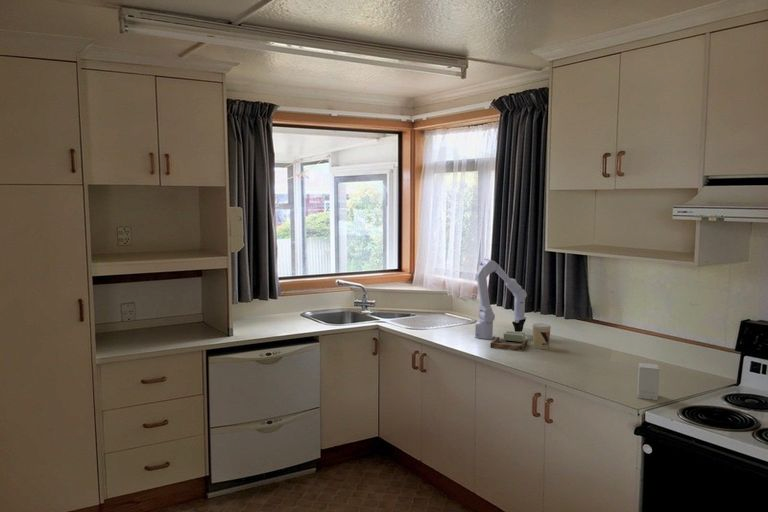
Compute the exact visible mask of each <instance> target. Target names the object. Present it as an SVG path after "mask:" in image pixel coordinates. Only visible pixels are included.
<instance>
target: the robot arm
mask: <svg viewBox="0 0 768 512" xmlns="http://www.w3.org/2000/svg"><path fill="white" fill-rule="evenodd" d="M492 273H496V274H497V276H499V277H500V278H501V279H502V281H504V282H505V287H506V288H507V289H508V290H509V291H510V293H512V296H514V305H513V306H514V308H513V309H514V311H513V314H514V315H513V319H514V321H512V322H511V323H512V325H513V329H514V332H523V329H524V326H525V323H526V320H527V317H526V316H525V309H526V307H525V306H526V305H525V304H526V303H525V301H526V298H527V297H528V293H527V291H526V290H525V289H523V288H522V286H521V285H519V283H518V281H517V280H516V279H515V278H513V277H512V278H510V277H509V275H508V274H507V273H506V272H505V271H504V269H503V268H502V267H501V266H500V264H498V263H497V262H496V261H495V260H491V259H489V258H484V259H482V260H481V261H480V263H479V266H478V269H477V272H476V282H477V289H478V294H479V295H478V296H479V303H480V306H479V309H478V310H479V312H478V317H479V321H478V320H477V321H476V323H475V326H474V327H475V328H474V329H475V333H474V335H475V337H474V338H476V339H484V340H485V339H486V340H492V339H493V338H496V337H495V335H494V333H493V331H494V321H495V318H496V317H495V315H496V314H494V312H493V308H492V306H491V303H490V302H491V301H490V295H489V287H488V280H487V278H488V276H489V275H490V274H492Z"/></svg>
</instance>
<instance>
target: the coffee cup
mask: <svg viewBox="0 0 768 512" xmlns="http://www.w3.org/2000/svg"><path fill="white" fill-rule="evenodd" d="M551 328H552V327H551V324H547V323H534V324H533V323H532V341H533V342H532V343H533V348H534V347H535V348H534V349H536V348H538V350H548V349H549V347H550V338H551ZM547 348H548V349H547Z"/></svg>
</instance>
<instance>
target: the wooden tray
mask: <svg viewBox="0 0 768 512" xmlns="http://www.w3.org/2000/svg"><path fill="white" fill-rule="evenodd" d="M527 345H528V339H524V340H523V341H522V342H521V344H510V343H500V337H499V336H496V337H494V339H493V340H492V341H491V342H490V346H489V347H490V348H491V349H499V348H500V350H508V349H511V351H518V350H522V351H523V350H524V349H525V348H526V347H525V346H527ZM524 347H525V348H524ZM523 348H524V349H523Z"/></svg>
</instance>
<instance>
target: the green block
mask: <svg viewBox="0 0 768 512" xmlns="http://www.w3.org/2000/svg"><path fill="white" fill-rule="evenodd" d="M525 338H526V333H525V332H524V331H522V332H515V330H513V331H512V330H506V332H504V333H503V341H505V342H507V341H511V342H519V343H520V342H521V343H523V342H524V340H526V339H525Z"/></svg>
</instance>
